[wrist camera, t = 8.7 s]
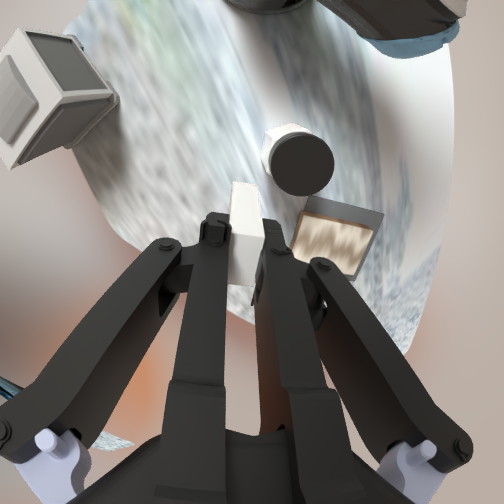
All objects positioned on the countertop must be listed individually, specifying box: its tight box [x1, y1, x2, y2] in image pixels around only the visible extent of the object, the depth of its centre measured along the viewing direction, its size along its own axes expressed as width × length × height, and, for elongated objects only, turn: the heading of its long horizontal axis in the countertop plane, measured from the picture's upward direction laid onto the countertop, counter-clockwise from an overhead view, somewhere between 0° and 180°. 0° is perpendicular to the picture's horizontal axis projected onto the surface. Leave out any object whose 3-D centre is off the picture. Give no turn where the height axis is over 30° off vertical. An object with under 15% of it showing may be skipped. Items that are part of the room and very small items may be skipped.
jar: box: [261, 122, 334, 196], centre depth 38 cm, size 9×8×12 cm
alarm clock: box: [0, 27, 119, 170], centre depth 26 cm, size 18×13×18 cm
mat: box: [305, 195, 384, 281], centre depth 52 cm, size 16×16×1 cm
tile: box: [290, 211, 373, 275], centre depth 51 cm, size 10×2×14 cm
